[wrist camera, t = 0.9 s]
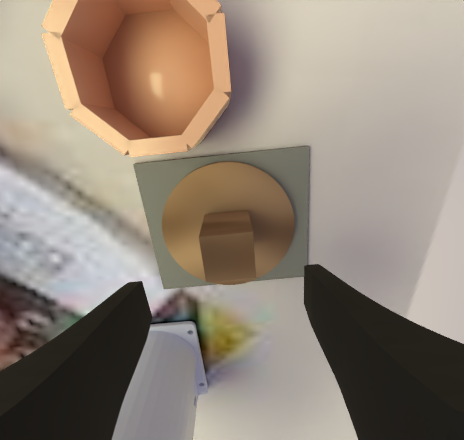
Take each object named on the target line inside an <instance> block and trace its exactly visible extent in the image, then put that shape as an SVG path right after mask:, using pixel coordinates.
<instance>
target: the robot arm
mask: <svg viewBox="0 0 464 440" xmlns="http://www.w3.org/2000/svg"><path fill="white" fill-rule="evenodd" d="M304 305H305V308H306V311H307V314H308V317H309V320H310V323H311V326H312V328H313V330H314V332H315V335H316V337H317V339H318V341H319V343H320V345H321V348H322V350H323V352H324V354H325V356H326V358H327V360H328V362H329V365H330V367H331V369H332V371H333V373H334V375H335V378H336V380H337V382H338V385H339V387H340V389H341V392H342V395H343V398H344V400H345V403H346V406H347V409H348V411H349V414H350V417H351V420H352V423H353V425H354V428H355V431H356V434H357V437H358V440H464V344H462V343H460V342H457V341H454V340H452V339H450V338H447V337H445V336H442V335H440V334H438V333H436V332H434V331H431V330H429V329H426V328H425V327H422V326H420V325H418V324H416V323H414V322H412V321H409V320H408V319H406V318H404V317H402V316H400V315H398V314H396V313H394V312H392V311H390V310H389V309H387V308H385V307H383V306H381V305H380V304H378V303H376V302H375V301H373V300H371V299H370V298H368V297H366V296H365V295H363V294H362V293H360V292H358V291H357V290H355V289H354V288H352V287H351V286H349V285H348V284H346V283H345V282H343V281H342V280H341V279H339V278H338V277H336V276H335V275H333V274H332V273H331V272H329V271H328V270H326V269H325V268H323V267H322V266H320V265H319V264H315V265H304ZM151 321H152V315H151V311H150V308H149V304H148V301H147V297H146V294H145V290H144V287H143V283H142V281H139V282H129V283H127V284H126V285H124V286H123V287H121V288H120V289H119V290H117V291H116V292H115V293H114V294H112V295H111V296H110V297H109V298H107V299H106V300H105V301H104V302H102V303H101V304H100V305H98V306H97V307H96V308H95V309H93V310H92V311H91V312H90V313H88V314H87V315H86V316H84V317H83V318H82V319H80V320H79V321H78V322H76V323H75V324H73V325H72V326H71V327H69V328H68V329H67V330H65V331H64V332H63V333H61V334H60V335H58V336H57V337H55V338H54V339H53V340H51V341H50V342H48V343H47V344H45V345H43V346H42V347H40V348H39V349H37V350H36V351H34V352H33V353H31V354H29V355H28V356H26V357H24V358H23V359H21V360H19V361H18V362H16V363H14V364H12V365H11V366H9V367H7V368H5V369H4V370H2V371H0V440H193V435H194V426H195V417H196V408H197V399H198V395H200V394H206V393H207V392H208V385H207V380H206V375H205V370H204V365H203V360H202V355H201V350H200V345H199V340H198V335H197V330H196V325H195V323H194V322H192V321H185V322H173V323H162V324H151ZM189 330H191V331H189Z"/></svg>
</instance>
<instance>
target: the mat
mask: <svg viewBox="0 0 464 440" xmlns="http://www.w3.org/2000/svg"><path fill="white" fill-rule="evenodd" d="M220 161H235V162H242V163H246V164H250V165H252V166H255V167H257V168H259V169H261V170H263V171H265V172H266V173H267V174H269V175H270V176H271V177H272V178H273V179H274V180H275V181H276V182H277V183H278V184H279V185H280V186H281V187H282V189H283V190H284V191H285V193H286V195H287V196H288V198H289V200H290V203H291V206H292V209H293V213H294V222H295V225H294V234H293V239H292V242H291V245H290V247H289V249H288V251H287V253H286V254H285V256H284V257H283V259H282V260H281V261H280V262H279V263H278V265H277V266H276V267H274V268H273V269H272V270H271V271H269V272H268V273H266V274H265V275H263V276H261V277H259V278H258V279H255V280H252V281H260V280H271V279H282V278H293V277H304V265H307V240H308V189H309V146H301V147H291V148H281V149H271V150H262V151H252V152H242V153H232V154H223V155H213V156H203V157H193V158H183V159H174V160H164V161H154V162H144V163H135V164H133V165H134V169H135V173H136V177H137V181H138V185H139V189H140V194H141V198H142V202H143V206H144V210H145V214H146V218H147V222H148V226H149V230H150V234H151V239H152V243H153V247H154V251H155V255H156V259H157V263H158V267H159V271H160V275H161V279H162V283H163V288H164V289H171V288H182V287H193V286H204V285H216V284H215V283H210V282H206V281H204V280H201V279H199V278H197V277H195V276H193V275H191V274H190V273H188V272H187V271H186V270H184V269H183V268H182V267H181V266H180V265H179V264H178V263H177V262H176V261H175V259H174V258H173V257H172V255H171V254H170V252H169V250H168V248H167V246H166V244H165V241H164V237H163V232H162V216H163V210H164V207H165V204H166V202H167V199H168V197H169V195H170V194H171V192H172V191H173V189H174V188H175V187H176V186H177V184H178V183H179V182H180V181H181V180H182V179H183V178H184V177H185V176H187V175H188V174H189V173H191V172H192V171H194V170H195V169H197V168H199V167H202V166H204V165H207V164H210V163H214V162H220Z"/></svg>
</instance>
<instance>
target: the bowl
mask: <svg viewBox="0 0 464 440" xmlns="http://www.w3.org/2000/svg"><path fill="white" fill-rule="evenodd" d="M42 27H44V28H45V29H46V30H47V31H48V32H50V33H43V34H42V37H43V40H44V43H45V46H46V50H47V53H48V56H49V59H50V62H51V65H52V68H53V71H54V75H55V78H56V81H57V84H58V87H59V90H60V93H61V96H62V100H63V103H64V106H65V109H69V110H72V112H71V114H70V116H72V117H73V118H74V119H76V120H77V121H79V122H80V123H81V124H83V125H84V126H85V127H87V128H88V129H89V130H91V131H92V132H93V133H95V134H96V135H97V136H99V137H100V138H101V139H103V140H104V141H106V142H107V143H108V144H110V145H111V146H112V147H114V148H115V149H116V150H118V151H119V152H120V153H122V154H123V155H128V154H129V155H130V157H136V156H145V155H155V154H165V153H174V152H184V151H189V150H190V149H192V148H194V147H195V146H197V145H199V144H200V143H201V142H202V140H203V139H204V138H205V136H206V135H207V134H208V132H209V131H210V130H211V128H212V127H213V126H214V125H215V123H216V122H217V120H218V119H219V117H220V116H221V115H222V113H223V112H224V111H225V109H226V108H227V107H228V105H229V99H231V83H230V71H229V60H228V49H227V37H226V26H225V14H224V13H221V5H220V4H219V2H218V1H217V0H53V1H52V3H51V6H50V8H49V10H48V12H47V15H46V17H45V19H44V21H43V24H42Z"/></svg>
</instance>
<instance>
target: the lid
mask: <svg viewBox="0 0 464 440" xmlns="http://www.w3.org/2000/svg"><path fill="white" fill-rule="evenodd" d="M294 225H295V222H294V213H293V209H292V206H291V203H290V200H289V198H288V196H287V195H286V193H285V191H284V190H283V189H282V187H281V186H280V185H279V184H278V183H277V182H276V181H275V180H274V179H273V178H272V177H271V176H270V175H269V174H267V173H266V172H265V171H263V170H261V169H259V168H257V167H255V166H252V165H250V164H246V163H242V162H235V161H220V162H214V163H210V164H207V165H204V166H202V167H199V168H197V169H195V170H194V171H192V172H191V173H189V174H188V175H187V176H185V177H184V178H183V179H182V180H181V181H180V182H179V183H178V184H177V186H176V187H175V188H174V189H173V191H172V192H171V194H170V195H169V197H168V199H167V202H166V204H165V207H164V210H163V216H162V232H163V237H164V241H165V244H166V246H167V248H168V250H169V252H170V254H171V255H172V257H173V258H174V259H175V261H176V262H177V263H178V264H179V265H180V266H181V267H182V268H183V269H184V270H186V271H187V272H188V273H190V274H191V275H193V276H195V277H197V278H199V279H201V280H204V281H206V282H210V283H215V284H223V285H235V284H242V283H246V282H250V281H252V280H255V279H258V278H259V277H261V276H263V275H265V274H266V273H268V272H269V271H271V270H272V269H273V268H274V267H276V266H277V265H278V263H279V262H280V261H281V260H282V259H283V257H284V256H285V254H286V253H287V251H288V249H289V247H290V245H291V242H292V239H293V234H294Z"/></svg>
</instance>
